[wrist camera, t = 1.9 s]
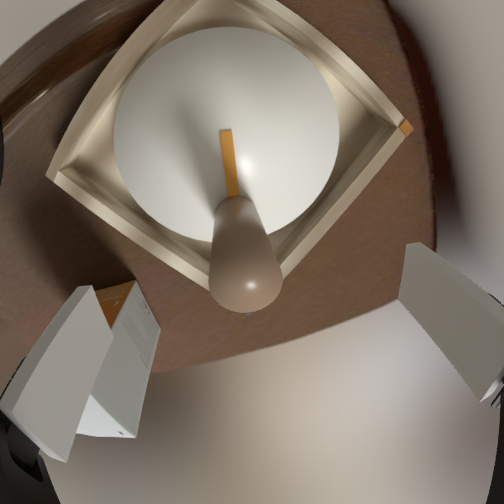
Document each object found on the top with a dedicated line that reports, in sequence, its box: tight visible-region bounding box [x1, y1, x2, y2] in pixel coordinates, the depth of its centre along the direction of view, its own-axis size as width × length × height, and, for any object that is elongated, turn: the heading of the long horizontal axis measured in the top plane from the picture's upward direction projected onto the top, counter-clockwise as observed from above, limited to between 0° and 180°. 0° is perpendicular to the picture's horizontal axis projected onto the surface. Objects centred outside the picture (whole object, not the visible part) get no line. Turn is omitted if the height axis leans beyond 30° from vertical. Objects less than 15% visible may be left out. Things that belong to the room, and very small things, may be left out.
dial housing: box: [45, 0, 413, 316], centre depth 18 cm, size 20×20×4 cm
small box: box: [76, 280, 161, 438], centre depth 19 cm, size 8×6×13 cm
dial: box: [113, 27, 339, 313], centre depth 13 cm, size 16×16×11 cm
